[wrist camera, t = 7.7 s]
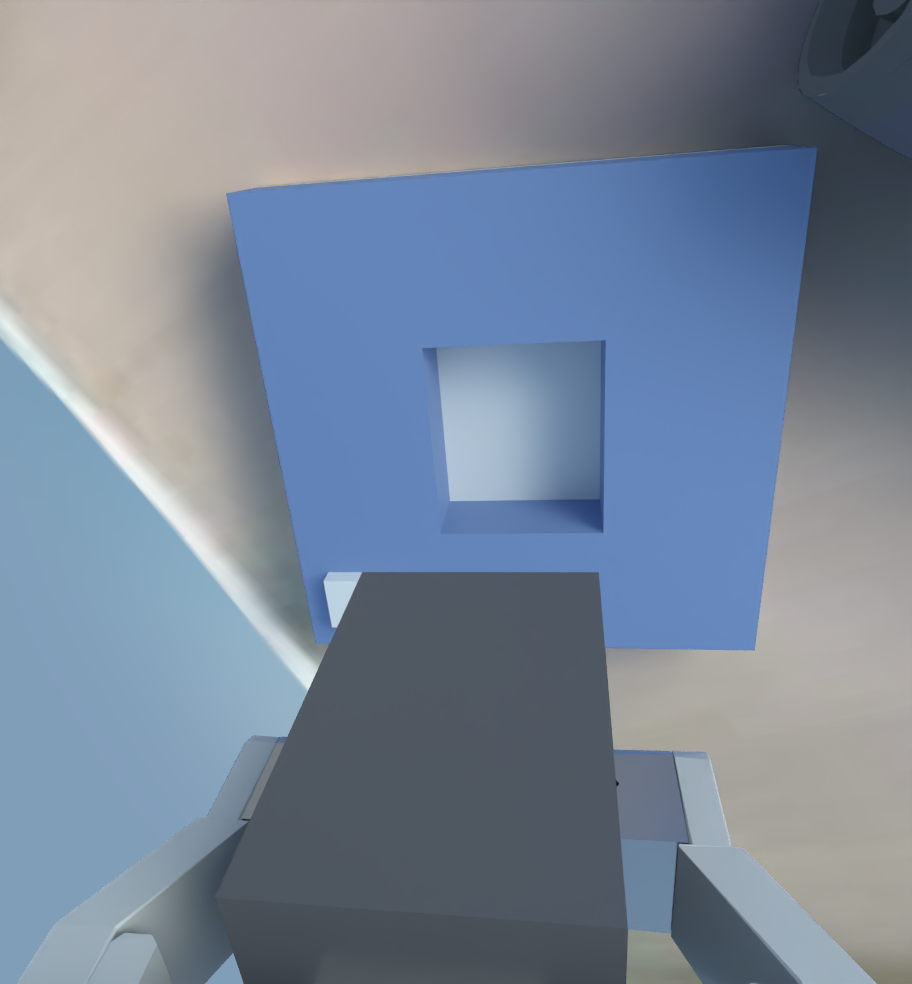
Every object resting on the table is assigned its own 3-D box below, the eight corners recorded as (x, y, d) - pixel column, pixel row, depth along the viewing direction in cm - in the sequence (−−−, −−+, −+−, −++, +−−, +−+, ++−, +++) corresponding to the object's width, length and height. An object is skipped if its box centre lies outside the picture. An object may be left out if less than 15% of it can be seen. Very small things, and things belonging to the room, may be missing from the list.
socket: (263, 186, 24) (217, 195, 20) (785, 144, 21) (824, 148, 18) (336, 598, 31) (311, 653, 27) (736, 601, 28) (758, 661, 25)
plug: (362, 572, 13) (201, 926, 7) (598, 572, 12) (630, 961, 6) (396, 782, 15) (293, 1182, 9) (598, 791, 14) (621, 1226, 9)
